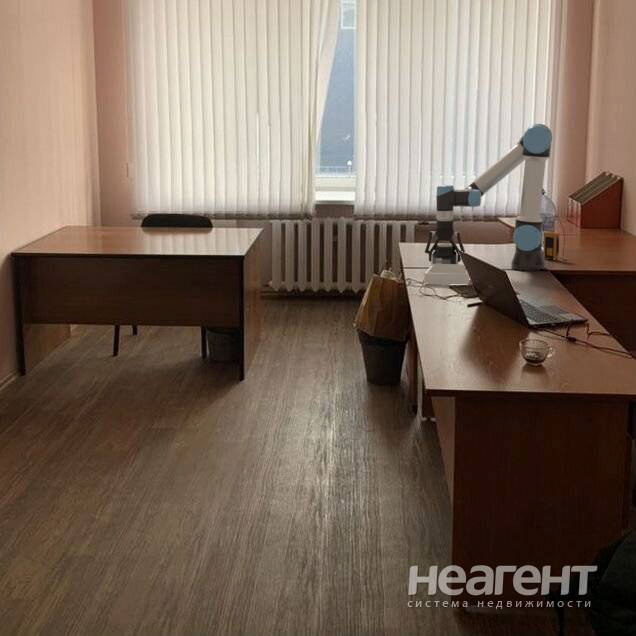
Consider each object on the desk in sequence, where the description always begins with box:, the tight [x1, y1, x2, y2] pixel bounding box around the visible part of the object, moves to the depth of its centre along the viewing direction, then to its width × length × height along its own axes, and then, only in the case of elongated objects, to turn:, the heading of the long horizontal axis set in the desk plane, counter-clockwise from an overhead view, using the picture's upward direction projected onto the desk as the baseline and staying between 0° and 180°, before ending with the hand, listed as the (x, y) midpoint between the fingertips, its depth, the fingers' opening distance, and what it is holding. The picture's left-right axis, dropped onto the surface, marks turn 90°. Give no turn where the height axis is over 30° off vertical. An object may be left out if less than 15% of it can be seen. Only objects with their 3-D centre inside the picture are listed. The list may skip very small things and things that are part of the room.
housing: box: [423, 263, 470, 286], centre depth 434 cm, size 24×18×5 cm
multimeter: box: [542, 217, 566, 261], centre depth 480 cm, size 15×10×20 cm
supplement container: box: [432, 243, 457, 264], centre depth 454 cm, size 10×10×12 cm
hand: (444, 268), depth 455 cm, fingers closed on supplement container, 10 cm apart
